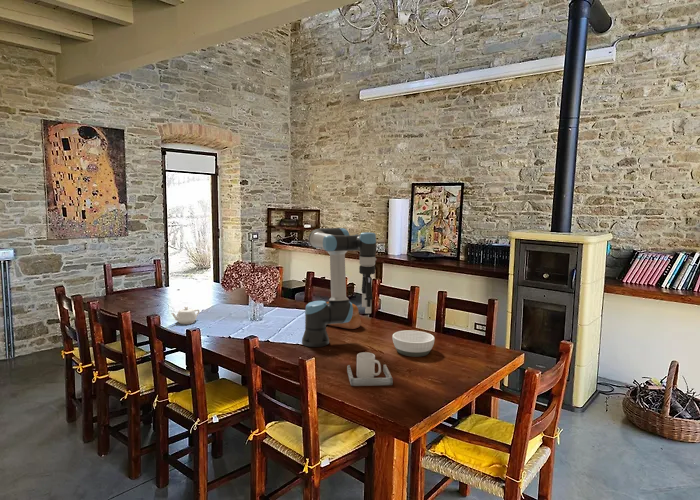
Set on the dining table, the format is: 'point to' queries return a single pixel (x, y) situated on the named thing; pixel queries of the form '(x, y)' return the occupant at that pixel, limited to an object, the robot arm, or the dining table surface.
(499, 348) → the dining table surface
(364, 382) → the bracket
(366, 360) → the cup
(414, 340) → the bowl
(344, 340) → the dining table surface
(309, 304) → the robot arm
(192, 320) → the teapot
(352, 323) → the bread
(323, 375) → the dining table surface
